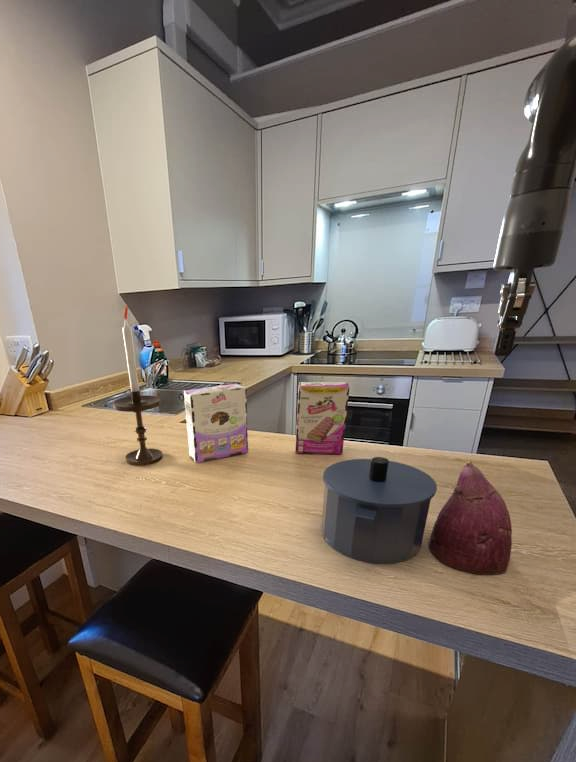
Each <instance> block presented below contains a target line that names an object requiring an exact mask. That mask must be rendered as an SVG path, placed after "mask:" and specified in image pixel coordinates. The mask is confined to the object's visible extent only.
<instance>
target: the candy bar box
mask: <svg viewBox="0 0 576 762" xmlns="http://www.w3.org/2000/svg"><path fill="white" fill-rule="evenodd" d="M297 391H298V392H297V393H298V394H297V411H296V427H295V429H296V430H295V454H311V455H314V454H315V455H343V449H344V442H345V433H346V424H347V423H346V422H347V414H348V406H349V404H348V403H349V397H350V385H349V383H348V382H347V381H306V382H305V381H300V382H298V389H297Z"/></svg>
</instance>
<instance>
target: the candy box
mask: <svg viewBox="0 0 576 762" xmlns="http://www.w3.org/2000/svg"><path fill="white" fill-rule="evenodd" d="M247 400H248V399H247V386H244V385H243V384H239V383H230V384H222V385H216V386H209V387H200V388H194V389H186V390H183V401H184V412H185V425H186V434H187V435H186V436H187V447H188V455H189V457H190V458H191V459H192V461H193V462H194V463H195V464H199V463H204V462H207V461H213V460H214V461H215V460H218V459H223V458H228V457H233V456H238V455H243V454H247V453H249V437H248V433H249V432H248V405H247V404H248V403H247Z"/></svg>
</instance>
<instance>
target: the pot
mask: <svg viewBox="0 0 576 762" xmlns="http://www.w3.org/2000/svg"><path fill="white" fill-rule="evenodd" d="M323 489H324V490H323V499H322V500H323V503H322V515H321V527H320V528H321V535H322V537H323V539H324V541H325V542H326V543H327V545H328V546H329V547H331V548H332V549H333V550H335V551H336V552H338V553H339V554H341V555H343V556H344V557H345V556H346V557H347V558H350V559H353V560H356V561H360V562H364V563H369V564H377V565H378V564H380V565H390V564H398V563H402V562H405V561H409V560H410V559H412V558H414V557H415V556H416V555H417V554H418V553H419V552H420V550H421V548H422V543H423V539H424V533H425V529H426V524H427V519H428V515H429V511H430V505H431V502H432V501H431V500H432V498H431V499H430V500H428V501H427V502H424V503H422V504H418V505H414V506H408V507H379V506H372V505H366V504H361V503H357V502H354V501H351V500H348V499H345V498H343V497H341V496H339V495H337V494H335V493H333V492H332V491H331V490H329V489H328V488H327V487H326V485H325V484H324V488H323Z"/></svg>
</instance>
